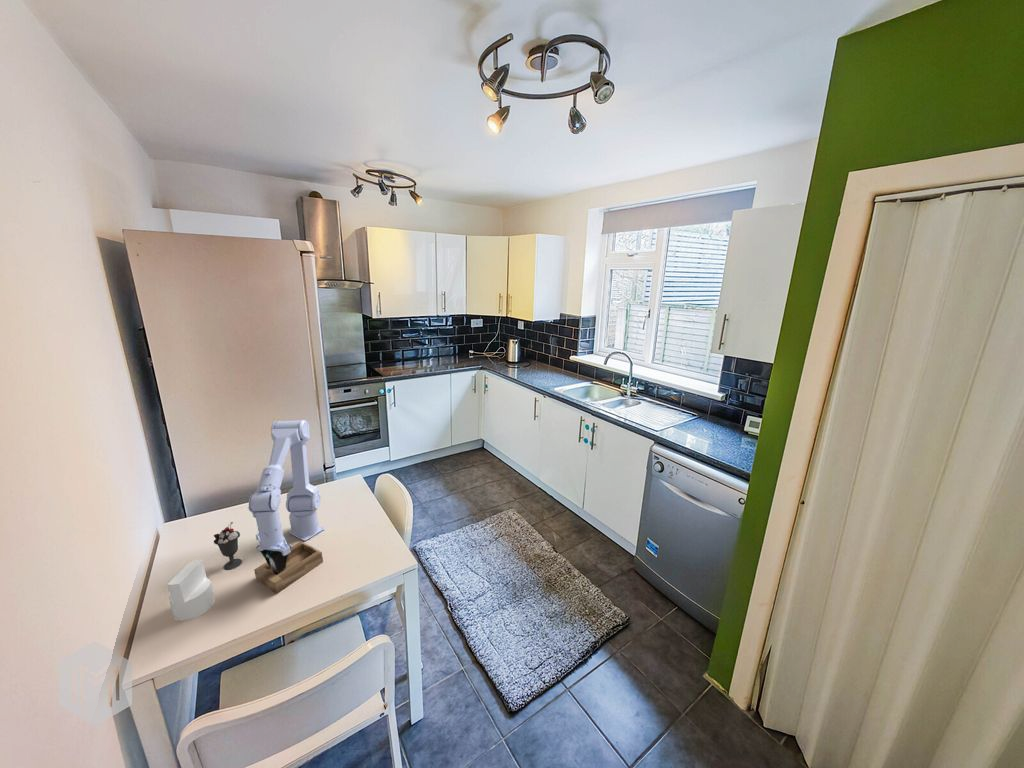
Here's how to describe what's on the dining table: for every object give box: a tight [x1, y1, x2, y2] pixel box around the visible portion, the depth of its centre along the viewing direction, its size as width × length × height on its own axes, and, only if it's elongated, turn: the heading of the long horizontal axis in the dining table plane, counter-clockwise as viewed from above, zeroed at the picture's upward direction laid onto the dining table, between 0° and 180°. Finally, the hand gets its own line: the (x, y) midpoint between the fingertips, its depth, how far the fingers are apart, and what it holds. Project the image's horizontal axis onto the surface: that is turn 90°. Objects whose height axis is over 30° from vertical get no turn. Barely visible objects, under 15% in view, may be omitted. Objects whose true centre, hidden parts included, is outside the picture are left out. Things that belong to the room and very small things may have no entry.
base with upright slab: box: [167, 559, 216, 622], centre depth 104 cm, size 9×9×12 cm
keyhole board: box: [253, 540, 324, 594], centre depth 119 cm, size 11×15×4 cm
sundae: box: [213, 521, 243, 571], centre depth 120 cm, size 7×7×15 cm
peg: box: [266, 550, 286, 575], centre depth 115 cm, size 5×5×8 cm
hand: (277, 566), depth 115 cm, fingers closed on peg, 4 cm apart
